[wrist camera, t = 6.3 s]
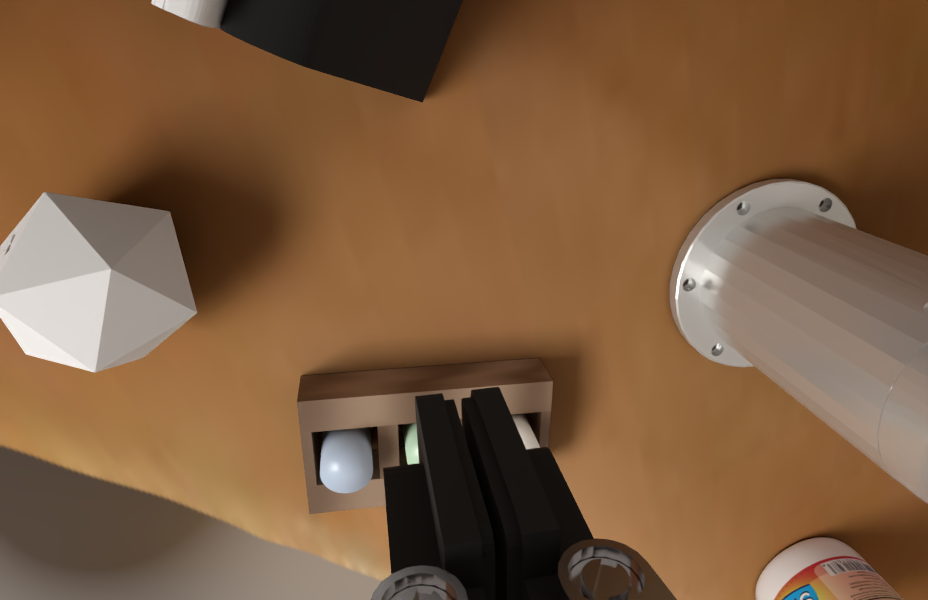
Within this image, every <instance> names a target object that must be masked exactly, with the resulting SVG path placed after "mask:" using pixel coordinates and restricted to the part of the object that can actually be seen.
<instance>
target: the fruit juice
mask: <svg viewBox="0 0 928 600" xmlns="http://www.w3.org/2000/svg"><path fill="white" fill-rule="evenodd" d="M755 596H756V600H904V599H903V598H902V597H901V596H900V595H899V594H898V593H897V592H896V591H895V590H894V589H893V588H892V587H891V586H890V585H889V584H888V583H887V582H886V581H885V580H884V579H883V578H882V577H881V576H880V575H879V574H878V573H877V572H876V571H875V570H874V569H873V568H872V567H871V566H870V565H869V564H868V563H867V562H866V561H865V560H864V559H863V558H862V557H861V556H860V555H859V554H858V553H857V552H856V551H855V550H853V549H852V548H851V547H850V546H848V545H847V544H845V543H843V542H841V541H839V540H837V539H833V538H827V537H819V538H812V539H808V540H804V541H801V542H798V543H796V544H794V545H792V546H790V547H788V548H787V549H785V550H783V551H782V552H781V553H779V554H778V555H777V556H776V557H775V558H773V559H772V560H771V561H770V563H769V564H768V565H767V566H766V567H765V569H764V570H763V572H762V573H761V575H760V577H759V579H758V582H757V585H756V591H755Z"/></svg>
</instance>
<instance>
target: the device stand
mask: <svg viewBox="0 0 928 600" xmlns="http://www.w3.org/2000/svg"><path fill="white" fill-rule="evenodd" d="M462 1H463V0H152V4H153V5H155V6H157V7H159V8H162V9H164V10H166V11H168V12H171V13H173V14H175V15H178V16H180V17H182V18H185V19H187V20H189V21H192V22H194V23H197V24H200V25H202V26H205V27H213V28H221V30H223V31H225V32H226V33H228V34H230V35H232V36H234V37H236V38H238V39H240V40H243V41H245V42H247V43H249V44H251V45H253V46H256V47H258V48H260V49H262V50H265V51H267V52H269V53H272V54H274V55H277V56H279V57H281V58H284V59H286V60H289V61H291V62H294V63H296V64H299V65H302V66H304V67H307V68H310V69H313V70H317V71H320V72H323V73H327V74H330V75H333V76H337V77H340V78H343V79H347V80H350V81H353V82H357V83H360V84H363V85H366V86H370V87H373V88H376V89H380V90H383V91H386V92H390V93H393V94H396V95H400V96H403V97H406V98H410V99H413V100H416V101H420V102H423V100H424V97H425V95H426V92H427V90H428V87H429V84H430V82H431V79H432V77H433V74H434V72H435V69H436V67H437V64H438V62H439V59H440V56H441V54H442V51H443V49H444V46H445V44H446V41H447V39H448V36H449V34H450V31H451V29H452V26H453V23H454V21H455V18H456V16H457V13H458V11H459V8H460V6H461V3H462Z"/></svg>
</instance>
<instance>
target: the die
mask: <svg viewBox="0 0 928 600" xmlns="http://www.w3.org/2000/svg"><path fill="white" fill-rule="evenodd" d="M196 313H197V310H196V306H195V302H194V298H193V295H192V291H191V287H190V284H189V280H188V276H187V273H186V269H185V265H184V261H183V258H182V254H181V250H180V247H179V243H178V239H177V236H176V232H175V228H174V224H173V221H172V217H171V213H170V211H164V210H158V209H151V208H145V207H139V206H132V205H126V204H119V203H113V202H106V201H100V200H93V199H87V198H81V197H74V196H68V195H61V194H55V193H48V192H44V193H43V194H42V195H41V197H40V198H39V199H38V200H37V201H36V203H35V204H34V205H33V206H32V208H31V209H30V210H29V211H28V213H27V214H26V215H25V216H24V218H23V219H22V220H21V221H20V222H19V224H18V225H17V226H16V227H15V229H14V230H13V231H12V232H11V234H10V235H9V236H8V237H7V239H6V240H5V241H4V242H3V243H2V245H1V246H0V318H1V319H2V320H3V322H4V323H5V325H6V326H7V328H8V329H9V331H10V332H11V333H12V335H13V336H14V338H15V339H16V341H17V342H18V344H19V345H20V346H21V348H22V349H23V351H24V352H25V354H27V355H31V356H34V357H38V358H42V359H46V360H50V361H53V362H57V363H61V364H65V365H69V366H72V367H76V368H80V369H84V370H88V371H91V372H98V371H102V370H105V369H108V368H111V367H115V366H118V365H121V364H124V363H128V362H131V361H134V360H138V359H141V358H144V357H145V356H146V355H147V354H148V353H150V352H151V351H152V350H153V349H154V348H156V347H157V346H158V345H159V344H160V343H162V342H163V341H164V340H165V339H166V338H168V337H169V336H170V335H171V334H172V333H174V332H175V331H176V330H177V329H178V328H180V327H181V326H182V325H183V324H184V323H186V322H187V321H188V320H189V319H190V318H192V317H193V316H194V315H195V314H196Z"/></svg>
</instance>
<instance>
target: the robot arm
mask: <svg viewBox="0 0 928 600" xmlns="http://www.w3.org/2000/svg"><path fill="white" fill-rule="evenodd" d="M670 305H671V310H672V315H673V319H674V321H675V323H676V325H677V327H678V330H679V332H680V333H681V334H682V335H683V337H684V338H685V339H686V341H687V342H688V343H689V344H690V345H691V346H692V347H694V348H695V349H696V350H697V351H698V352H699V353H700V354H702V355H703V356H705V357H706V358H708V359H710V360H712V361H714V362H717V363H720V364H723V365H726V366H735V367H753V366H755V367H756V368H757V369H759V370H760V371H761V372H762V373H764V374H765V375H766V376H767V377H769V378H770V379H771V380H772V381H773V382H775V383H776V384H777V385H778V386H780V387H781V388H782V389H783V390H785V391H786V392H787V393H788V394H790V395H791V396H792V397H793V398H795V399H796V400H797V401H798V402H800V403H801V404H802V405H803V406H805V407H806V408H807V409H808V410H810V411H811V412H812V413H813V414H815V415H816V416H817V417H818V418H820V419H821V420H822V421H823V422H824V423H826V424H827V425H828V426H829V427H831V428H832V429H833V430H834V431H836V432H837V433H838V434H839V435H841V436H842V437H843V438H844V439H846V440H847V441H848V442H849V443H851V444H852V445H853V446H854V447H856V448H857V449H858V450H859V451H861V452H862V453H863V454H864V455H866V456H867V457H868V458H869V459H870V460H872V461H873V462H874V463H875V464H877V465H878V466H879V467H880V468H882V469H883V470H884V471H885V472H887V473H888V474H889V475H890V476H892V477H893V478H894V479H895V480H897V481H898V482H900V483H901V484H902V485H903V486H905V487H906V488H907V489H908V490H910V491H911V492H912V493H913V494H915V495H916V496H917V497H919V498H920V499H922V500H923V501H924V502H926V503H927V504H928V256H927V255H924V254H922V253H919V252H916V251H914V250H911V249H908V248H906V247H903V246H900V245H898V244H895V243H892V242H890V241H887V240H884V239H882V238H879V237H876V236H873V235H871V234H868V233H865V232H863V231H860V230H857V228H856V225H855V221H854V219H853V217H852V215H851V214H850V212H849V210H848V208H847V207H846V206H845V205H844V204H843V202H842V201H841V200H840V199H839V198H838V197H837V196H836V195H834V194H832V193H831V192H829V191H828V190H826V189H824V188H823V187H820V186H817V185H814V184H811V183H808V182H805V181H800V180H795V179H770V180H766V181H761V182H757V183H753V184H751V185H749V186H746V187H744V188H742V189H739V190H737V191H735V192H733V193H732V194H730V195H729V196H727V197H726V198H724V199H723V200H721V201H719V202H718V203H717V204H716V205H715V206H714V207H713V208H711V209H710V210H709V211H708V212H707V213H706V214H705V215H704V216H703V217H702V218H701V219H700V220H699V222H698V223H697V224H696V225H695V227H694V228H693V229H692V230H691V231H690V233H689V235H688V236H687V238H686V240H685V242H684V243H683V245H682V247H681V248H680V251H679V253H678V256H677V259H676V261H675V264H674V267H673V271H672V276H671V282H670ZM415 411H416V425H417V440H418V455H419V463H417V464H409V465H401V466H394V467H386V468H383V474H384V487H385V499H386V512H387V524H388V536H389V549H390V561H391V573H392V574H391V575H390V576H389V577H387V578H386V579H385V580H383V581H382V582H381V583H380V585H379V586H378V587H377V589H376V590H375V591H374V593H373V595H372V598H371V600H677V599H676V598H675V597H674V595H673V594H672V593H671V591H670V590H669V589H668V588H667V586H666V585H665V584H664V582H663V581H662V580H661V579H660V577H659V576H658V575H657V574H656V572H655V571H654V570H653V568H652V567H651V566H650V565H649V563H648V562H647V561H646V560H645V559H644V558H643V557H642V556H641V555H640V554H639V553H638V552H637V551H635V550H633V549H632V548H630V547H628V546H627V545H625V544H622V543H619V542H616V541H613V540H607V539H594V538H593V536H592V534H591V532H590V530H589V528H588V526H587V524H586V522H585V520H584V518H583V516H582V514H581V512H580V510H579V507H578V505H577V503H576V501H575V499H574V497H573V495H572V493H571V491H570V489H569V487H568V485H567V483H566V481H565V479H564V477H563V475H562V473H561V471H560V469H559V467H558V465H557V463H556V461H555V459H554V457H553V455H552V453H551V451H550V450H549V448H547V447H540V448H533V449H526V447H525V445H524V443H523V441H522V438H521V436H520V434H519V431H518V429H517V427H516V424H515V422H514V420H513V418H512V415H511V413H510V411H509V408H508V406H507V404H506V401H505V399H504V397H503V395H502V392H501V390H500V388H499V387H492V388H483V389H474V390H471V395H470V397H468V398H462V399H461V412H462V425H461V421H460V418H459V415H458V411H457V408H456V404H455V401H454V399H451V400H444V397H443V394H442V393H439V394H430V395H421V396H415Z"/></svg>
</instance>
